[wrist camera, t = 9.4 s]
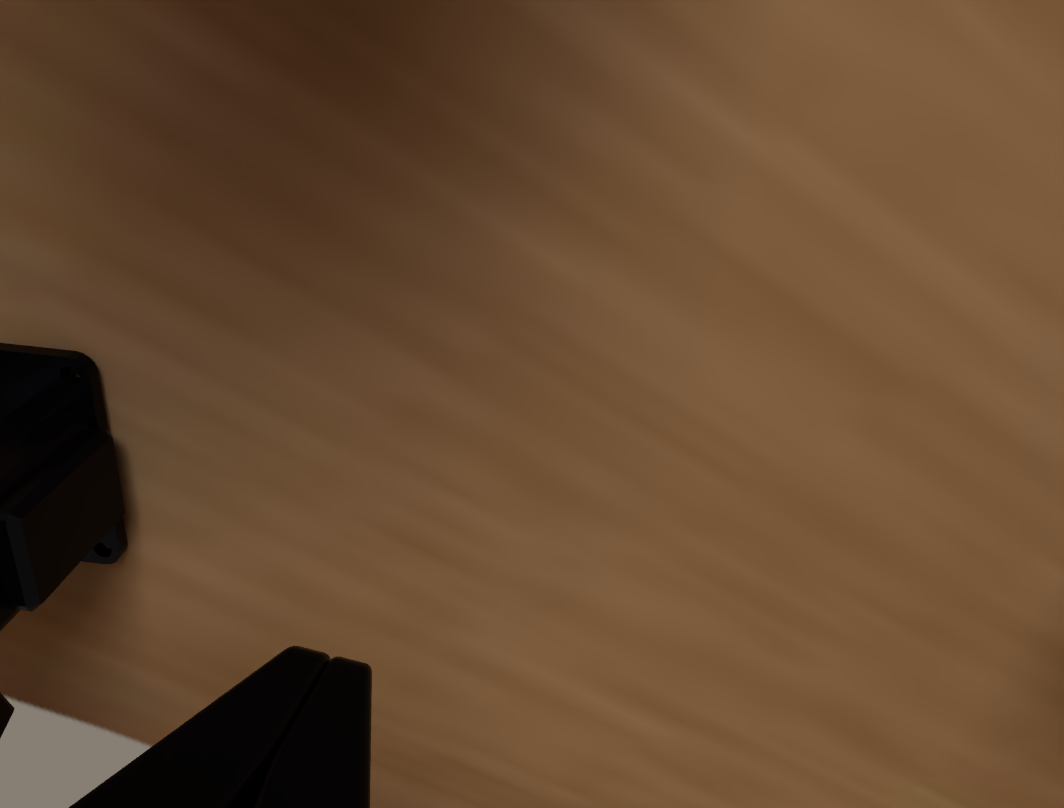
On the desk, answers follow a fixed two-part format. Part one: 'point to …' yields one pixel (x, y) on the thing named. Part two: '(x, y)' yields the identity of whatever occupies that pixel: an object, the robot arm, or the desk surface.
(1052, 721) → the desk surface
